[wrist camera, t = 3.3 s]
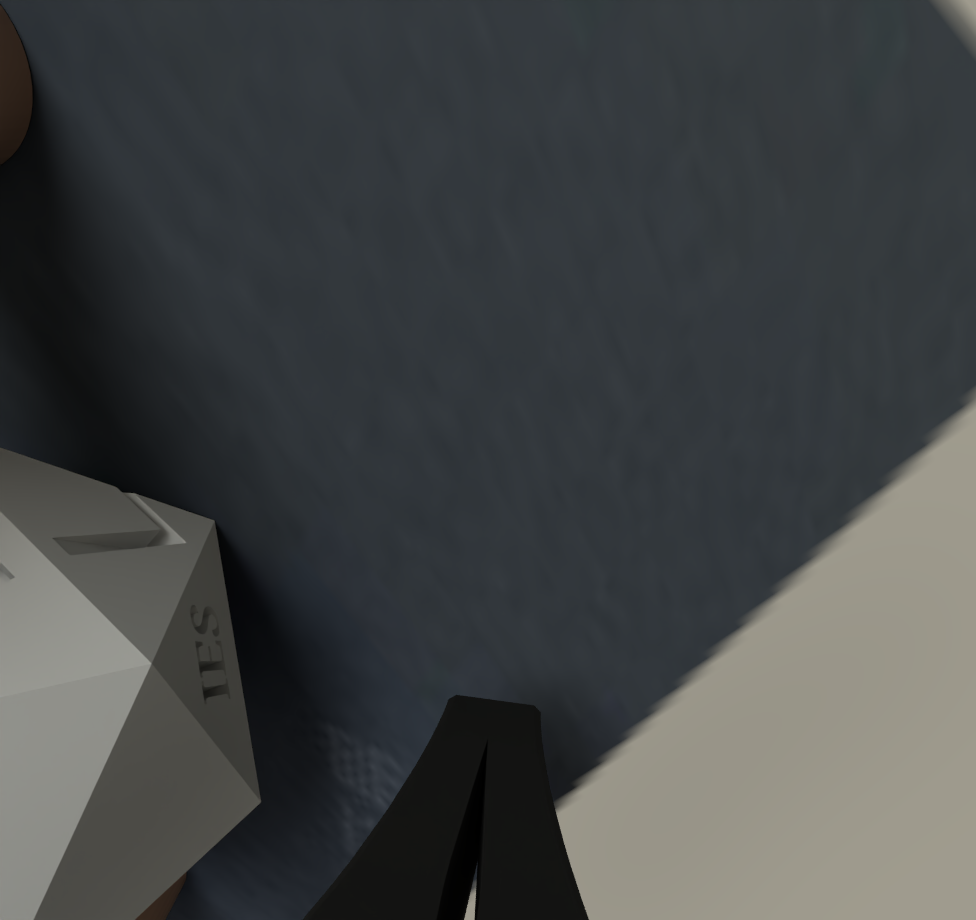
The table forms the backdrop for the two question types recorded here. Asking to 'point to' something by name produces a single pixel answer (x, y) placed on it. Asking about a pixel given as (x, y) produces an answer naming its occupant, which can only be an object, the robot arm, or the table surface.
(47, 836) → the die
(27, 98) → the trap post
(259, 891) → the table surface
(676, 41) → the table surface
